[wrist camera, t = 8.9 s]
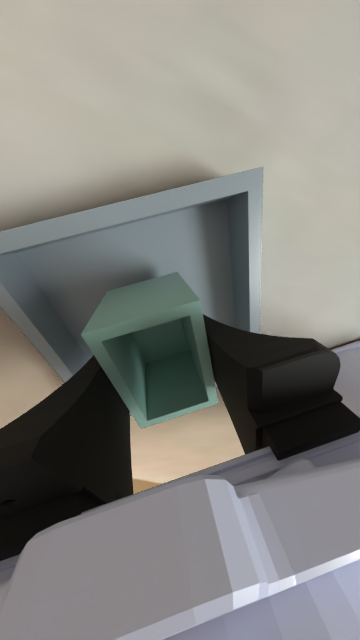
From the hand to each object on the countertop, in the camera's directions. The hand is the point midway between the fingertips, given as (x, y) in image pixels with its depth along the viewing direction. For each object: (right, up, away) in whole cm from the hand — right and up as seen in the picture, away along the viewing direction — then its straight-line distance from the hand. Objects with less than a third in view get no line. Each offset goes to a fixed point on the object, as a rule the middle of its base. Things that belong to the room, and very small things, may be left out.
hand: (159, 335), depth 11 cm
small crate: (0, +1, +1) cm, 1 cm away
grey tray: (-1, +2, +3) cm, 3 cm away
